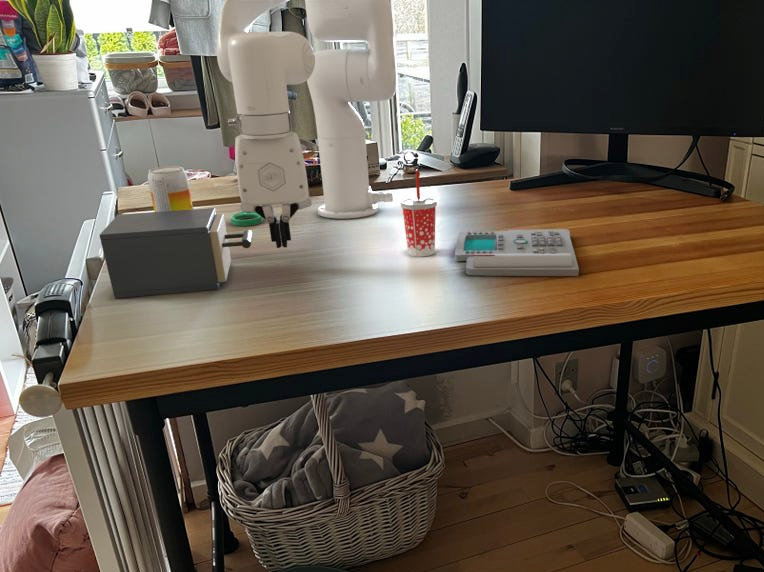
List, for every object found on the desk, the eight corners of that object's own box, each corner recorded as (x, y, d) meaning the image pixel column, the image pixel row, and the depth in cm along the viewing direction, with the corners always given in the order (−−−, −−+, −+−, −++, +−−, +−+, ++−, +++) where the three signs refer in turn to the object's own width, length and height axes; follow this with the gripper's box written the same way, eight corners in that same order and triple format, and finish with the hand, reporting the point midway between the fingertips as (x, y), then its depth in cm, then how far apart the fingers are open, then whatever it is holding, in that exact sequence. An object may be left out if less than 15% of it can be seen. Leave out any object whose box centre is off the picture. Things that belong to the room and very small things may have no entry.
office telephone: (580, 261, 111) (450, 261, 112) (580, 277, 113) (451, 277, 113) (568, 221, 132) (459, 222, 133) (568, 235, 134) (459, 236, 134)
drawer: (257, 258, 121) (250, 211, 118) (254, 279, 111) (247, 229, 108) (144, 267, 118) (133, 219, 114) (130, 290, 108) (118, 238, 104)
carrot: (260, 225, 145) (258, 217, 144) (228, 226, 144) (227, 218, 143) (270, 208, 158) (269, 200, 158) (242, 209, 158) (241, 201, 157)
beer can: (207, 252, 128) (192, 165, 122) (192, 263, 122) (174, 172, 116) (175, 252, 128) (157, 165, 122) (157, 262, 123) (138, 172, 117)
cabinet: (224, 265, 121) (215, 207, 117) (218, 289, 110) (207, 226, 106) (130, 273, 118) (117, 214, 114) (114, 298, 107) (99, 234, 103)
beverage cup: (444, 249, 127) (441, 167, 121) (431, 259, 122) (426, 174, 116) (412, 246, 129) (407, 166, 123) (397, 256, 124) (392, 172, 118)
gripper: (210, 131, 103) (231, 256, 111) (317, 126, 106) (330, 248, 114) (215, 124, 110) (235, 242, 118) (316, 120, 113) (328, 235, 121)
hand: (282, 245), depth 116 cm, fingers closed
